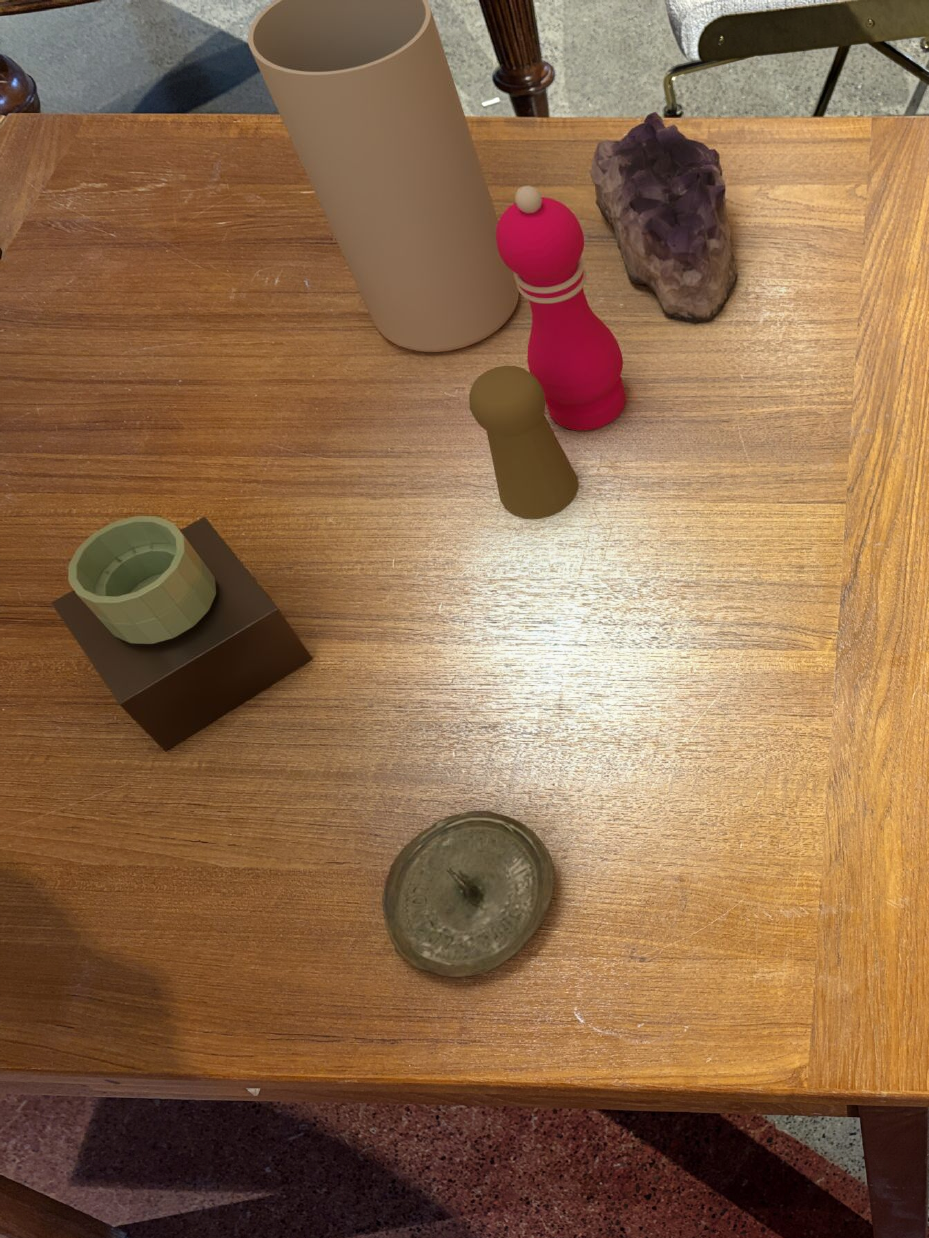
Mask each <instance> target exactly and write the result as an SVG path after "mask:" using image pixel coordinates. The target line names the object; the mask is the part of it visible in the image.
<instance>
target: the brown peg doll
mask: <svg viewBox="0 0 929 1238" xmlns="http://www.w3.org/2000/svg"><path fill="white" fill-rule="evenodd" d="M468 400H469V409H470V412H471V414H472V416H473V418H474V420H475V421H476V422H477V424H478V425H479V426H480V427H481V428H482V429H484V430H485V431H486V435H487V440H488V446H489V451H490V455H491V460H492V464H493V470H494V475H495V481H496V485H497V490H498V496H499V500H500V503H501V504H502V506H503V508H504V509H505V510H506V511H507V512H509V513H510V514H512V515H513V516H516V517H519V518H522V519H531V520H532V519H533V520H535V519H536V520H539V519H542V518H547V517H550V516H553V515H555V514H557V513H560V512H561V511H563V510H564V509H566V508H567V507H568V506H569V505H571V503H572V502H573V500H574V499H575V497H576V496H577V494H578V491H579V486H580V484H579V478H578V475H577V474H576V472H575V469H574V468H573V466H572V464H571V462H570V460H569V458H568V457H567V455H566V453H565V451H564V449H563V447H562V446H561V443H560V441H559V440H558V437H557V435H556V434H555V432H554V431H553V428H552V426H551V424H550V423H549V421H548V419H547V417H546V415H545V410H546V401H545V394H544V391H543V387H542V386H541V384H540V383H539V381H538V380H537V379H536V377H535V376H534V375H533V374H531V373H530V372H529V370H527V369H525V368H523V367H521V366H520V367H519V366H517V365H500V366H495V367H492V368H490V369H488V370H485V371H484V372H483V373H482V374H480V375H479V376H478V377H476V379H475V380H474V381H473V384H472V386H471V388H470V391H469V394H468Z"/></svg>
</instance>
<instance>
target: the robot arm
mask: <svg viewBox="0 0 929 1238" xmlns="http://www.w3.org/2000/svg"><path fill="white" fill-rule="evenodd" d="M2 257H3V249H2V247H0V261H1V260H2Z"/></svg>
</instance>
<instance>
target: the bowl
mask: <svg viewBox="0 0 929 1238" xmlns="http://www.w3.org/2000/svg"><path fill="white" fill-rule="evenodd" d="M180 530H181V529H179V527H178V526H177V525H176V523H174V522H172V521H170V520H167V519H165V518H163V517H160V516H157V515H133V516H130V517H127V518H123V519H119V520H115V521H113V522H111V523H108V524H107V525H105V526H103V527H102V528H100V529H98V530H96V531H94V532H93V533H92V534H91V535H90V536H88V538H86V539H85V540H84V541H83V542H82V543H81V544H80V545H79V546H78V547H77V548H76V549H75V552H74V553H73V556H72V558H71V560H70V561H69V564H68V569H67V570H68V573H67V574H68V576H67V577H68V578H67V579H68V581H67V582H68V584H69V585H70V587H71V588H72V589H73V590H74V591H75V592H76V594H77V595H78V596H79V597H80V598H81V599H82V601H83V602H84V603H85V604H86V605H87V606H88V607H89V608H90V609H91V611H92V612H93V613H94V614H95V615H96V616H97V617H98V618H99V620H100V621H101V622H102V623H103V624H104V625H105V626H106V627H107V628H108V630H109V631H110V632H111V633H112V634H113V635H114V636H116V637H118V638H120V639H122V640H125V641H127V642H129V643H135V644H154V643H158V642H161V641H165V640H168V639H172V638H174V637H176V636H178V635H180V634H181V633H183V632H185V631H187V630H188V629H190V628H192V627H193V626H194V625H196V624H197V622H198V621H199V620H200V619H201V618H202V617H203V616H204V615H205V614H206V613H207V612H208V610H209V609H210V607H211V604H212V602H213V600H214V597H215V595H216V586H215V578H214V576H213V574H212V573H211V572H210V570H209V569H208V568H207V566H206V565H205V564H204V562H203V561H202V560H201V558H200V557H199V555H198V554H197V553H196V551H195V550H194V549H193V547H192V546H191V545H190V543H189V542H188V541H187V539H186V538H185V536H184V535H183V534H182V533H181V531H180Z"/></svg>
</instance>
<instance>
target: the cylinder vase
mask: <svg viewBox="0 0 929 1238" xmlns="http://www.w3.org/2000/svg"><path fill="white" fill-rule="evenodd" d="M247 43H248V46H249V49H250V52H251V55H252V56H253V59H254V60H255V63H256V65H257V67H258V69H259V71H260V74H261V76H262V78H263V81H264V83H265V85H266V87H267V90H268V92H269V94H270V97H271V98H272V100H273V102H274V105H275V107H276V110H277V112H278V114H279V116H280V118H281V121H282V123H283V126H284V127H285V129H286V131H287V134H288V136H289V139H290V141H291V143H292V145H293V147H294V149H295V151H296V154H297V156H298V158H299V160H300V163H301V165H302V167H303V169H304V172H305V174H306V176H307V179H308V181H309V183H310V185H311V187H312V189H313V191H314V193H315V197H316V198H317V200H318V203H319V205H320V207H321V210H322V212H323V214H324V216H325V218H326V220H327V223H328V225H329V227H330V229H331V232H332V235H333V236H334V238H335V240H336V243H337V246H338V247H339V250H340V251H341V254H342V256H343V258H344V260H345V263H346V265H347V267H348V270H349V271H350V274H351V276H352V278H353V281H354V283H355V285H356V287H357V289H358V292H359V294H360V296H361V298H362V300H363V303H364V305H365V307H366V309H367V311H368V314H369V316H370V318H371V320H372V322H373V325H374V326H375V328H376V329H377V331H378V332H379V334H380V335H382V336H383V337H384V338H385V339H387V340H388V341H389V342H391V343H393V344H394V345H397V346H399V347H402V348H404V349H408V350H411V351H417V352H424V353H442V352H450V351H455V350H459V349H463V348H466V347H469V346H472V345H475V344H477V343H479V342H481V341H483V340H485V339H487V338H488V337H490V336H492V335H493V334H494V333H496V332H497V331H498V330H500V329H501V328H502V326H504V325H505V324H506V322H507V321H509V319H510V318H511V316H512V315H513V313H514V311H515V310H516V308H517V304H518V301H519V296H520V292H519V290H518V288H517V282H516V281H515V278H514V272H513V271H512V270H511V269H509V268H508V267H507V265H506V264H505V263H504V261H503V260H502V258H501V257H500V254H499V252H498V248H497V242H496V229H497V224H498V222H499V218H498V215H497V212H496V209H495V206H494V202H493V200H492V196H491V193H490V189H489V187H488V183H487V180H486V177H485V173H484V171H483V168H482V164H481V162H480V159H479V155H478V152H477V150H476V145H475V143H474V140H473V137H472V134H471V131H470V127H469V124H468V121H467V118H466V115H465V112H464V109H463V105H462V102H461V99H460V96H459V92H458V90H457V86H456V83H455V80H454V77H453V74H452V71H451V68H450V65H449V62H448V58H447V55H446V52H445V49H444V46H443V43H442V40H441V36H440V33H439V30H438V27H437V24H436V20H435V18H434V14H433V12H432V8H431V5H430V3H429V0H274V1H273V2H272V3H270V4H269V5H268V6H267V7H265V8H264V9H263V10H262V11H261V12H260V13H259V14H258V15H257V16H256V18H255V19H254V20H253V22H252V24H251V25H250V27H249V30H248V34H247Z"/></svg>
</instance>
